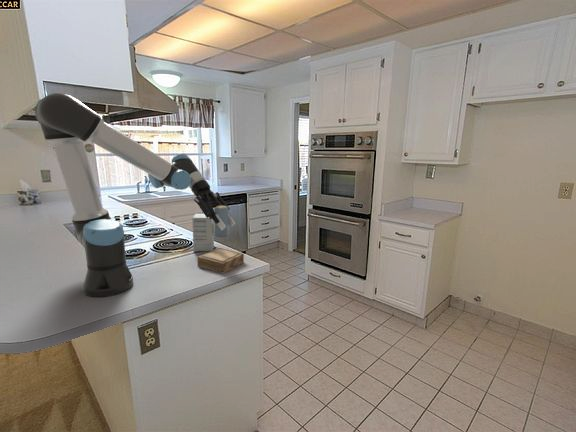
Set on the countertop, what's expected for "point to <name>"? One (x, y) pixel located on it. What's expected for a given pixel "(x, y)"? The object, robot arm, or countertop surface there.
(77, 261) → the countertop surface
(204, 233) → the supplement box
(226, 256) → the walnut base
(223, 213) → the canister
